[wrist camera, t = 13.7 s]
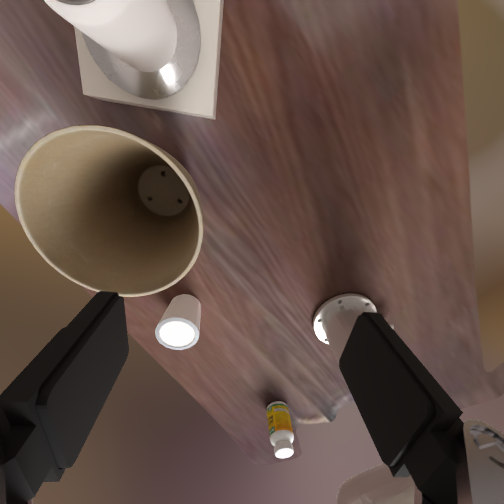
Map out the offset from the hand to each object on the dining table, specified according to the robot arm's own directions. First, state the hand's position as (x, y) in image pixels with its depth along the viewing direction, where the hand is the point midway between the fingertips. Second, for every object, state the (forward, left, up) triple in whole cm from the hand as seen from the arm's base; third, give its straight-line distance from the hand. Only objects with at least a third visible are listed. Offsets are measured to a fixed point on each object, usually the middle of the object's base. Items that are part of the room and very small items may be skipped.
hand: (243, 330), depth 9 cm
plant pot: (+11, +1, -28) cm, 30 cm away
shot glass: (+7, +22, -28) cm, 37 cm away
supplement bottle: (-16, +51, -28) cm, 61 cm away
